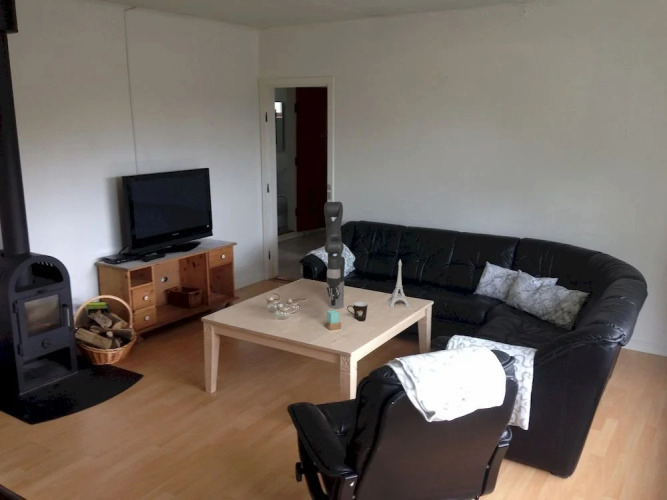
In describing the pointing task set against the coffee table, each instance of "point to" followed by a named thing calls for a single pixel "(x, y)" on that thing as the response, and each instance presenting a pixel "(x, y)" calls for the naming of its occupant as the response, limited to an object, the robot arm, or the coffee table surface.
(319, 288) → the coffee table surface
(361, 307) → the coffee mug
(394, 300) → the eiffel tower
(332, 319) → the teal block
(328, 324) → the walnut block
